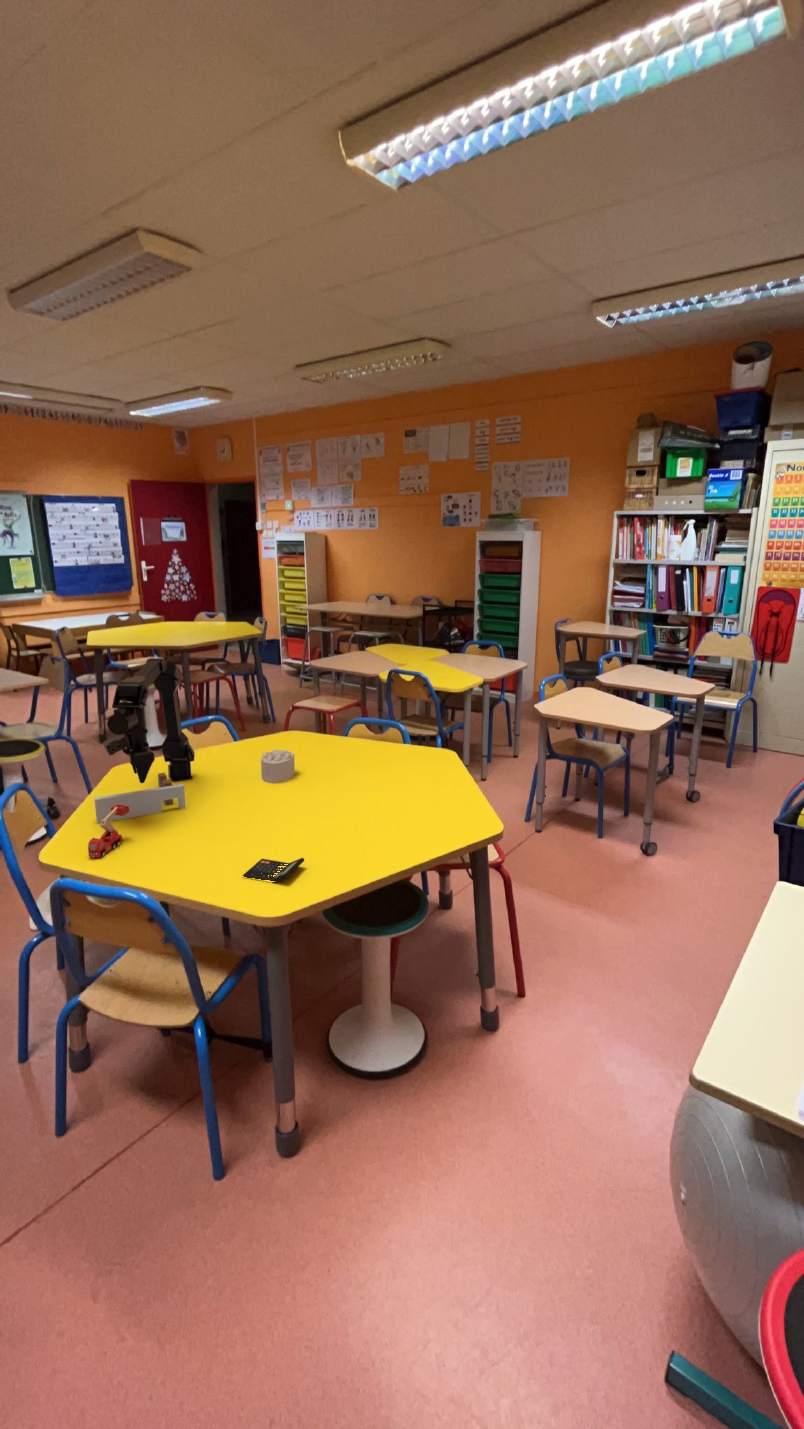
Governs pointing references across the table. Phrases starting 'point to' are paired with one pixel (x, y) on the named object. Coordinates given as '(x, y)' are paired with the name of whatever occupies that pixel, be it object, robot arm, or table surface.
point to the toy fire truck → (107, 834)
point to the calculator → (272, 869)
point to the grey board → (139, 802)
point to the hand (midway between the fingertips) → (139, 778)
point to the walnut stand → (164, 785)
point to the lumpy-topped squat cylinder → (277, 766)
